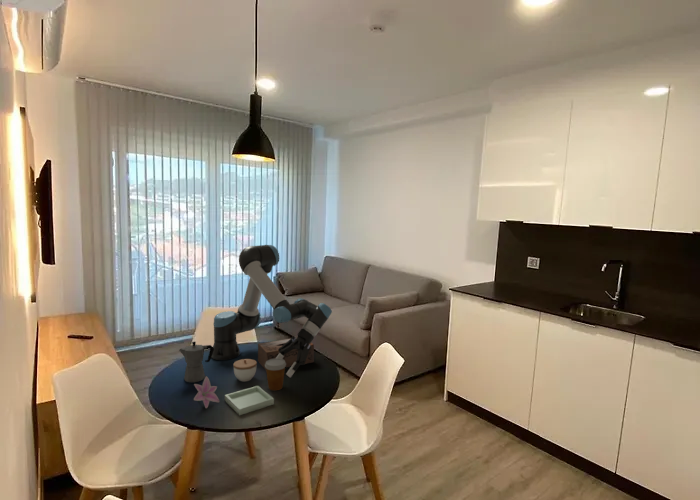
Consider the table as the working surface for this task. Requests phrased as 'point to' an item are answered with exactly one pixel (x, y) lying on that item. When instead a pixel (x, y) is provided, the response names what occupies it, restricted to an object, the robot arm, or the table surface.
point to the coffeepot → (195, 361)
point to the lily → (206, 392)
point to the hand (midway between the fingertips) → (280, 371)
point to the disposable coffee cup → (275, 373)
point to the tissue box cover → (271, 352)
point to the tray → (249, 400)
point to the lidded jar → (245, 369)
